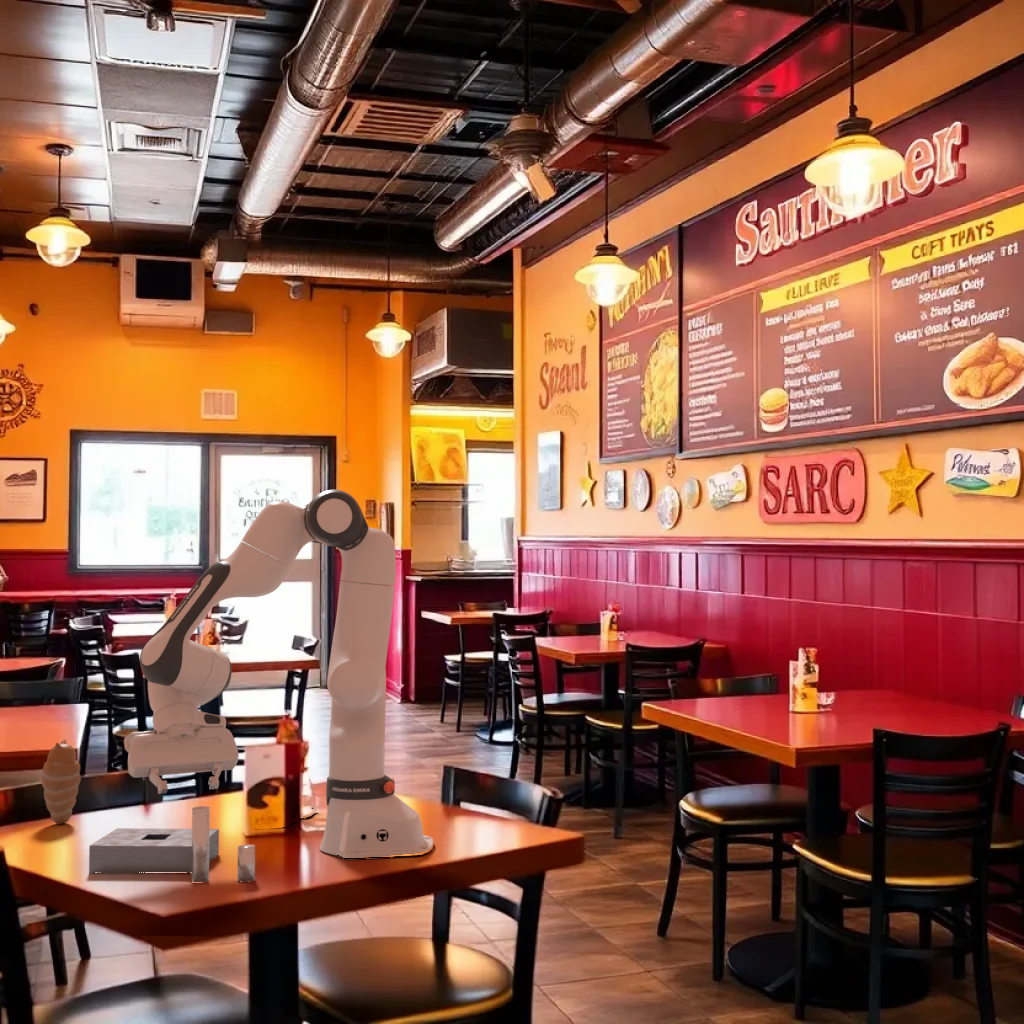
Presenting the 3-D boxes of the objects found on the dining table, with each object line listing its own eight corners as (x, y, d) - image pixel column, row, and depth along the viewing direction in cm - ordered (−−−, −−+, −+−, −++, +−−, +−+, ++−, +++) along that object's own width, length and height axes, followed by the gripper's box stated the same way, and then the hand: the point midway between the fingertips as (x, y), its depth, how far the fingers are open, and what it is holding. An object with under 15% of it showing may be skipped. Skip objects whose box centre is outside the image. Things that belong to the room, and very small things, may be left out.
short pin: (256, 878, 209) (256, 844, 209) (252, 882, 206) (252, 848, 206) (240, 878, 209) (240, 844, 209) (235, 882, 206) (235, 848, 206)
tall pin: (210, 879, 208) (211, 806, 209) (206, 883, 205) (206, 809, 206) (194, 879, 208) (195, 806, 209) (189, 883, 205) (190, 809, 206)
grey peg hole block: (218, 854, 226) (218, 828, 226) (197, 873, 212) (197, 846, 212) (116, 854, 226) (117, 828, 227) (88, 873, 212) (89, 845, 213)
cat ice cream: (49, 819, 257) (50, 738, 258) (85, 819, 258) (86, 737, 258) (34, 828, 248) (36, 744, 249) (72, 828, 249) (73, 743, 250)
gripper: (124, 722, 218) (133, 784, 209) (233, 716, 227) (246, 774, 218) (120, 743, 221) (128, 804, 212) (226, 736, 231) (239, 794, 222)
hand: (189, 789), depth 215 cm, fingers open, 8 cm apart
